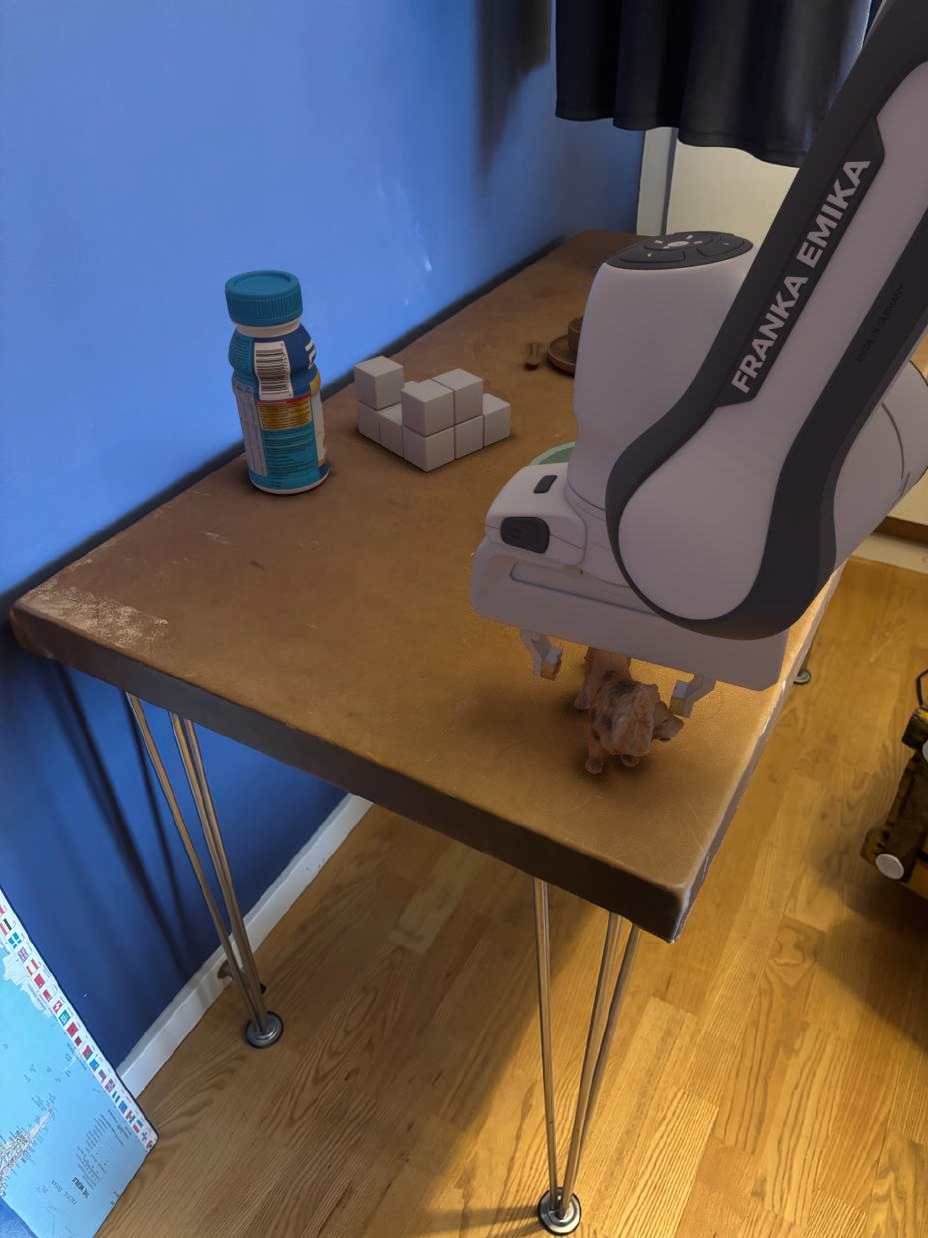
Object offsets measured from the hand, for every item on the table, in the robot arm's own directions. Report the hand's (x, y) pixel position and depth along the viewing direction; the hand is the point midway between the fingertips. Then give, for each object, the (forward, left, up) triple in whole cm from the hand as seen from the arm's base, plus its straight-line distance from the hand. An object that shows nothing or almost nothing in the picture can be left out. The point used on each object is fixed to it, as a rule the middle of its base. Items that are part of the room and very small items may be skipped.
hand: (612, 691), depth 62 cm
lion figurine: (-1, 0, -5) cm, 5 cm away
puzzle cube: (+30, -37, -5) cm, 48 cm away
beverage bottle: (+40, -23, -5) cm, 47 cm away
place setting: (+18, -59, -5) cm, 62 cm away
